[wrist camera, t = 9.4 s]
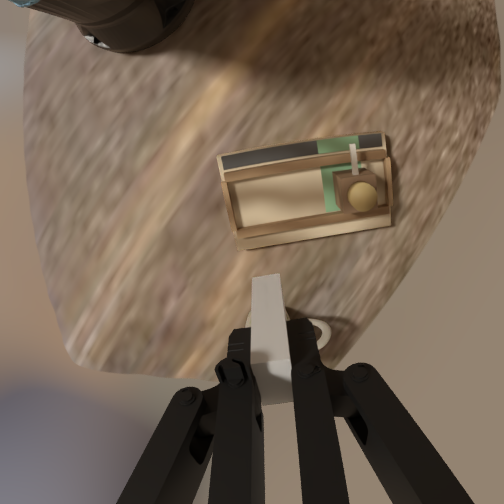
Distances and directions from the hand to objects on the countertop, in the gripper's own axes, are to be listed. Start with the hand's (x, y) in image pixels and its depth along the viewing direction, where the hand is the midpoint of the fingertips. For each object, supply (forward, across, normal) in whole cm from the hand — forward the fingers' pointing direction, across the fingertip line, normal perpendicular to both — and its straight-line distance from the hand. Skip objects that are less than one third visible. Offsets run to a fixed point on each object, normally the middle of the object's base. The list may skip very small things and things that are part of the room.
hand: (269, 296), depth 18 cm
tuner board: (+23, +6, -1) cm, 24 cm away
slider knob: (+21, +11, +1) cm, 24 cm away
